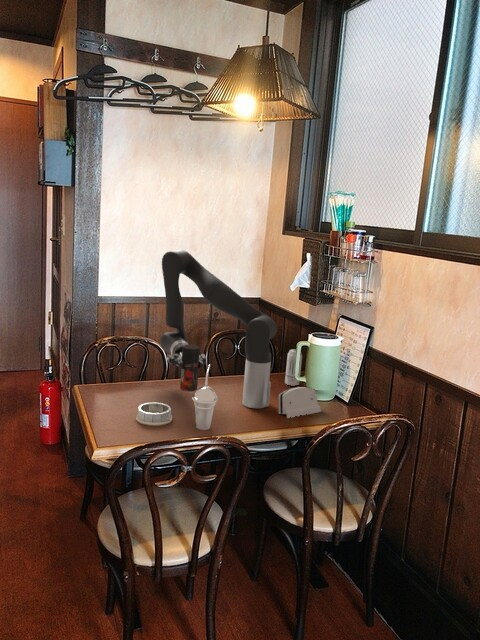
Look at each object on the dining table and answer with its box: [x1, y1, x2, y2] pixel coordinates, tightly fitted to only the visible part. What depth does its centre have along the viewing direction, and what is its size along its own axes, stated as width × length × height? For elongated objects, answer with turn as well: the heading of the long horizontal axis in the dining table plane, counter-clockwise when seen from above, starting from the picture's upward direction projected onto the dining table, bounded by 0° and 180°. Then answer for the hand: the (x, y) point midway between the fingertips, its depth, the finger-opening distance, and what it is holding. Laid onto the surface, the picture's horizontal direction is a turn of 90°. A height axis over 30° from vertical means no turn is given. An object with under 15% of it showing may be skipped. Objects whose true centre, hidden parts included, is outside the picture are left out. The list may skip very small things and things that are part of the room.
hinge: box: [278, 386, 322, 419], centre depth 198 cm, size 17×5×10 cm, turn 125°
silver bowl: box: [135, 401, 173, 427], centre depth 181 cm, size 12×12×4 cm
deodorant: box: [179, 344, 201, 393], centre depth 186 cm, size 6×6×15 cm
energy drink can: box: [284, 348, 303, 386], centre depth 228 cm, size 6×6×15 cm
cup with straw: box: [191, 364, 219, 431], centre depth 176 cm, size 8×9×20 cm
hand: (191, 365), depth 184 cm, fingers closed on deodorant, 6 cm apart
